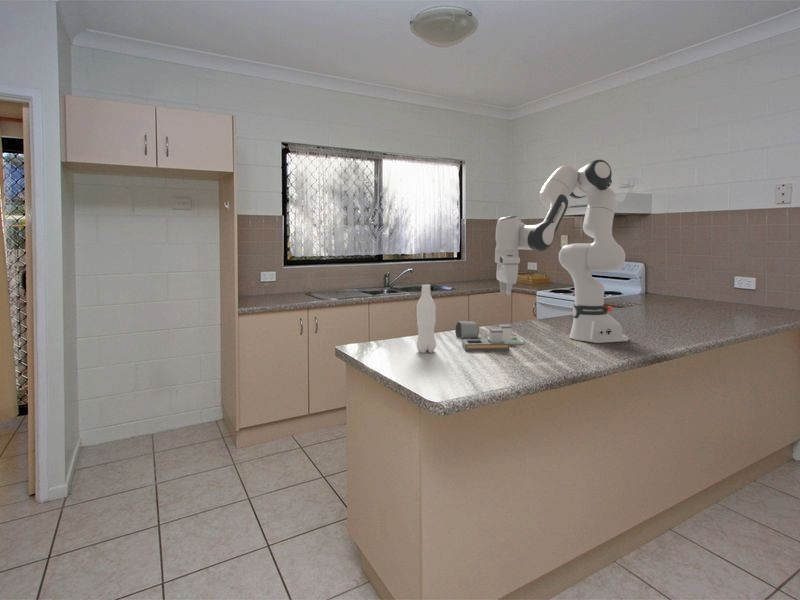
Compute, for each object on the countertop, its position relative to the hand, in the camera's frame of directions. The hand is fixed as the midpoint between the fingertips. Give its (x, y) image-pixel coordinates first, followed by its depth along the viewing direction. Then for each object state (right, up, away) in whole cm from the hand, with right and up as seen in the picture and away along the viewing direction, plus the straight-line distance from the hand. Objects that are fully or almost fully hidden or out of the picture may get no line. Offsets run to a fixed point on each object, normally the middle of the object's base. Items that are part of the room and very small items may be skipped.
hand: (505, 293), depth 192 cm
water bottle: (-31, -22, -9) cm, 39 cm away
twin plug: (-5, -20, -9) cm, 23 cm away
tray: (0, -20, +3) cm, 20 cm away
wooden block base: (-9, -21, -9) cm, 25 cm away
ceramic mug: (-14, -19, +14) cm, 27 cm away
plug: (0, -19, +2) cm, 20 cm away
